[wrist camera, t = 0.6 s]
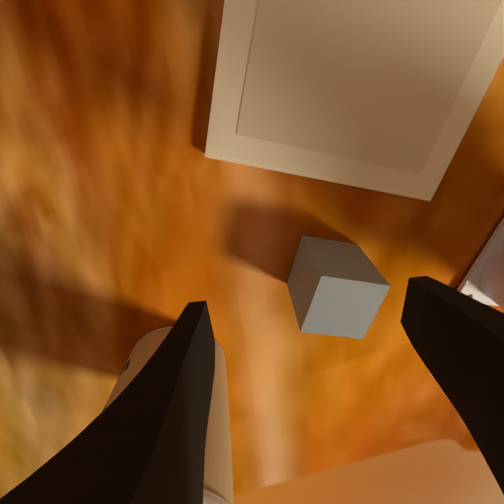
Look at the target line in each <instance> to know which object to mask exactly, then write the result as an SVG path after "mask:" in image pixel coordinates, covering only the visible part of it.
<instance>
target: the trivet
mask: <svg viewBox="0 0 504 504" xmlns="http://www.w3.org/2000/svg"><path fill="white" fill-rule="evenodd" d="M503 58H504V0H224V8H223V16H222V24H221V32H220V40H219V48H218V56H217V63H216V71H215V79H214V87H213V95H212V103H211V111H210V119H209V127H208V135H207V142H206V150H205V157H208V158H213V159H218V160H223V161H228V162H233V163H238V164H243V165H248V166H253V167H258V168H263V169H269V170H274V171H279V172H284V173H289V174H294V175H299V176H304V177H309V178H314V179H319V180H324V181H329V182H335V183H340V184H345V185H350V186H355V187H360V188H365V189H370V190H375V191H380V192H385V193H390V194H396V195H401V196H406V197H411V198H416V199H421V200H426V201H431V199H432V197H433V195H434V193H435V191H436V189H437V187H438V186H439V184H440V182H441V180H442V178H443V176H444V174H445V172H446V170H447V168H448V166H449V164H450V162H451V160H452V158H453V156H454V154H455V152H456V150H457V148H458V146H459V144H460V142H461V140H462V138H463V136H464V134H465V133H466V131H467V129H468V127H469V125H470V123H471V121H472V119H473V117H474V115H475V113H476V111H477V109H478V107H479V105H480V103H481V101H482V99H483V97H484V95H485V93H486V91H487V89H488V87H489V85H490V83H491V81H492V80H493V78H494V76H495V74H496V72H497V70H498V68H499V66H500V64H501V62H502V60H503Z"/></svg>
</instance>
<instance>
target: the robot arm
mask: <svg viewBox="0 0 504 504" xmlns="http://www.w3.org/2000/svg"><path fill="white" fill-rule="evenodd" d="M485 304H486V305H485ZM487 305H493V306H500V307H501V308H502V309H503V310H504V217H503V219H502V220H501V222H500V223H499V225H498V227H497V228H496V230H495V231H494V233H493V234H492V236H491V237H490V239H489V240H488V242H487V244H486V245H485V247H484V248H483V250H482V251H481V253H480V254H479V256H478V257H477V259H476V261H475V262H474V264H473V265H472V267H471V268H470V270H469V271H468V273H467V274H466V276H465V278H464V279H463V281H462V282H461V284H460V285H459V287H458V288H457V290H455V289H453V288H451V287H449V286H447V285H445V284H443V283H441V282H439V281H437V280H435V279H432V278H430V277H428V276H422V277H413V278H409V281H408V286H407V292H406V297H405V302H404V307H403V313H402V318H401V324H402V326H403V328H404V330H405V332H406V334H407V336H408V338H409V340H410V342H411V343H412V345H413V347H414V349H415V350H416V352H417V353H418V355H419V356H420V358H421V359H422V361H423V362H424V364H425V365H426V367H427V368H428V369H429V371H430V372H431V374H432V375H433V377H434V378H435V380H436V381H437V382H438V384H439V385H440V387H441V388H442V390H443V391H444V392H445V394H446V395H447V397H448V398H449V400H450V401H451V403H452V404H453V405H454V407H455V408H456V410H457V412H458V413H459V415H460V416H461V418H462V419H463V421H464V423H465V424H466V426H467V428H468V430H469V431H470V433H471V435H472V437H473V438H474V440H475V442H476V444H477V446H478V447H479V449H480V451H481V453H482V454H483V456H484V458H485V460H486V462H487V464H488V466H489V468H490V469H491V471H492V473H493V475H494V477H495V479H496V481H497V483H498V484H499V486H500V488H501V490H502V492H503V494H504V313H502V312H500V311H498V310H496V309H494V308H492V307H489V306H487ZM214 373H215V339H214V334H213V330H212V325H211V321H210V316H209V312H208V307H207V303H206V301H198V302H189V303H188V304H187V305H186V307H185V309H184V310H183V312H182V313H181V315H180V316H179V318H178V320H177V321H176V323H175V324H174V326H173V327H172V329H171V330H170V332H169V333H168V334H167V336H166V337H165V339H164V340H163V341H162V343H161V344H160V346H159V347H158V349H157V350H156V351H155V353H154V354H153V355H152V356H151V358H150V359H149V360H148V361H147V363H146V364H145V365H144V367H143V368H142V369H141V370H140V372H139V373H138V374H137V375H136V376H135V377H134V379H133V380H132V381H131V382H130V383H129V384H128V386H127V387H126V388H125V389H124V390H123V391H122V392H121V393H120V394H119V395H118V397H117V398H116V399H115V400H114V401H113V402H112V403H111V404H110V405H109V406H108V407H107V408H106V409H105V410H104V411H103V412H102V413H101V414H100V415H99V416H98V417H97V418H96V419H95V420H93V421H92V422H91V423H90V424H89V425H88V426H87V427H86V428H85V429H84V430H83V431H82V432H81V433H80V434H79V435H78V436H77V437H75V438H74V439H73V440H72V441H71V442H70V443H69V444H67V445H66V446H65V447H64V448H63V449H62V450H61V451H59V452H58V453H57V454H56V455H55V456H53V457H52V458H51V459H50V460H49V461H48V462H46V463H45V464H44V465H43V466H42V467H40V468H39V469H38V470H37V471H35V472H34V473H33V474H32V475H31V476H29V477H28V478H27V479H25V480H24V481H23V482H22V483H20V484H19V485H18V486H16V487H15V488H14V489H12V490H11V491H10V492H9V493H7V494H6V495H5V496H3V497H2V498H1V499H0V504H203V488H204V463H205V445H206V435H207V427H208V419H209V412H210V404H211V397H212V389H213V381H214Z"/></svg>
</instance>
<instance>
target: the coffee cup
mask: <svg viewBox="0 0 504 504" xmlns="http://www.w3.org/2000/svg"><path fill="white" fill-rule="evenodd" d="M172 327H173V326H168V327H162V328H159V329H155V330H153V331H151V332H149V333H147V334H146V335H144V336H143V337H142V338H141V339H140V340H139V341H138V342H137V343H136V345H135V346H134V348H133V350H132V352H131V354H130V356H129V358H128V360H127V362H126V364H125V366H124V368H123V370H122V372H121V374H120V376H119V378H118V380H117V382H116V384H115V387H114V389H113V391H112V393H111V395H110V397H109V399H108V401H107V403H106V405H105V407H104V409H103V411H104V410H105V409H106V408H107V407H108V406H109V405H110V404H111V403H112V402H113V401H114V400H115V399H116V398H117V397H118V395H119V394H120V393H121V392H122V391H123V390H124V389H125V388H126V387H127V386H128V384H129V383H130V382H131V381H132V380H133V379H134V377H135V376H136V375H137V374H138V373H139V372H140V370H141V369H142V368H143V367H144V365H145V364H146V363H147V361H148V360H149V359H150V358H151V356H152V355H153V354H154V353H155V351H156V350H157V349H158V347H159V346H160V344H161V343H162V341H163V340H164V339H165V337H166V336H167V334H168V333H169V332H170V330H171V329H172ZM103 411H102V412H103ZM203 504H234V501H233V479H232V458H231V440H230V424H229V407H228V391H227V375H226V363H225V356H224V352H223V350H222V348H221V346H220V344H219V343H218V342H217V341H216V340H215V373H214V381H213V389H212V397H211V404H210V412H209V419H208V427H207V435H206V445H205V463H204V488H203Z"/></svg>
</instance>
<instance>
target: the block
mask: <svg viewBox="0 0 504 504" xmlns="http://www.w3.org/2000/svg"><path fill="white" fill-rule="evenodd" d="M287 286H288V289H289V293H290V296H291V300H292V303H293V307H294V310H295V314H296V318H297V321H298V325H299V328H300V332H306V333H315V334H324V335H332V336H341V337H350V338H358V339H363V338H364V336H365V334H366V332H367V331H368V329H369V327H370V325H371V323H372V321H373V319H374V317H375V315H376V313H377V311H378V309H379V307H380V305H381V303H382V301H383V300H384V298H385V296H386V294H387V292H388V290H389V288H390V284H389V283H388V282H387V281H386V279H385V278H384V277H383V276H382V275H381V273H380V272H379V271H378V270H377V268H376V267H375V266H374V265H373V263H372V262H371V261H370V260H369V258H368V257H367V256H366V255H365V253H364V252H363V251H362V250H361V248H360V247H359V246H358V245H357V244H353V243H347V242H341V241H335V240H329V239H323V238H317V237H311V236H305V235H302V237H301V240H300V243H299V247H298V250H297V253H296V256H295V259H294V263H293V266H292V269H291V272H290V275H289V278H288V282H287Z"/></svg>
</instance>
